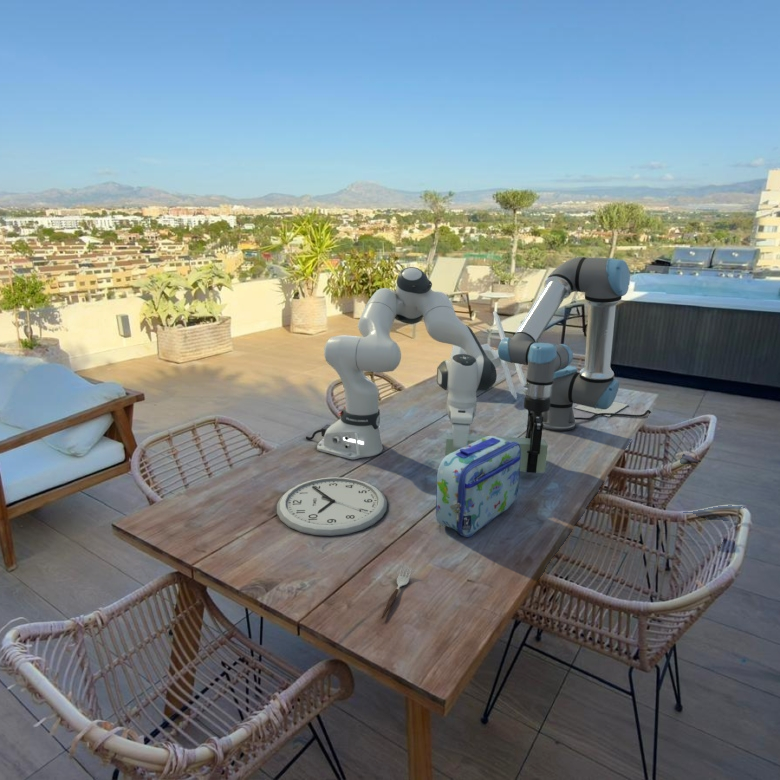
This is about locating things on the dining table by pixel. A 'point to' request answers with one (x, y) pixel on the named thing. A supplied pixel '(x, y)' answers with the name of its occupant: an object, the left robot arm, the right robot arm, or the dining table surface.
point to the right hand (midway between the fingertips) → (529, 467)
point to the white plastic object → (497, 358)
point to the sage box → (522, 442)
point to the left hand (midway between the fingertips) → (458, 450)
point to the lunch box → (477, 484)
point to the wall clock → (331, 506)
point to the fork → (401, 582)
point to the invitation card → (612, 409)
